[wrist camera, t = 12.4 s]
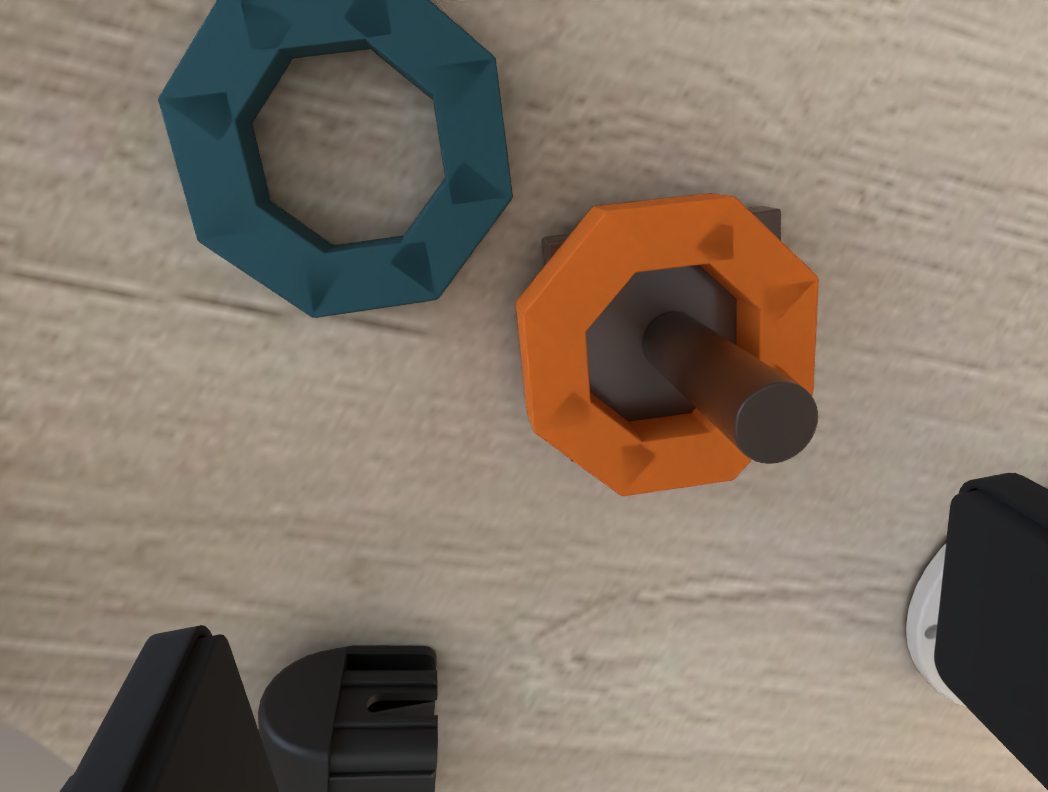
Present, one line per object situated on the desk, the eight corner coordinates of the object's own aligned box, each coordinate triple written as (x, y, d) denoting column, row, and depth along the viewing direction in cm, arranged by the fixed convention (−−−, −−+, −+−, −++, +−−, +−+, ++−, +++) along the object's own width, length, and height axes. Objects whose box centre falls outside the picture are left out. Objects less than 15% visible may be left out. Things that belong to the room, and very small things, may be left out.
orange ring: (793, 183, 26) (824, 186, 24) (784, 447, 30) (810, 469, 28) (506, 215, 25) (513, 220, 23) (533, 483, 29) (541, 508, 27)
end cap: (279, 635, 31) (239, 757, 25) (437, 636, 32) (438, 753, 26) (281, 803, 35) (247, 950, 28) (425, 800, 36) (424, 940, 29)
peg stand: (764, 205, 28) (945, 234, 18) (765, 415, 31) (921, 538, 21) (541, 237, 27) (601, 285, 17) (565, 448, 30) (628, 591, 20)
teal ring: (477, -37, 24) (481, -55, 22) (517, 277, 27) (524, 287, 25) (153, -1, 23) (125, -16, 21) (239, 318, 27) (222, 332, 25)
